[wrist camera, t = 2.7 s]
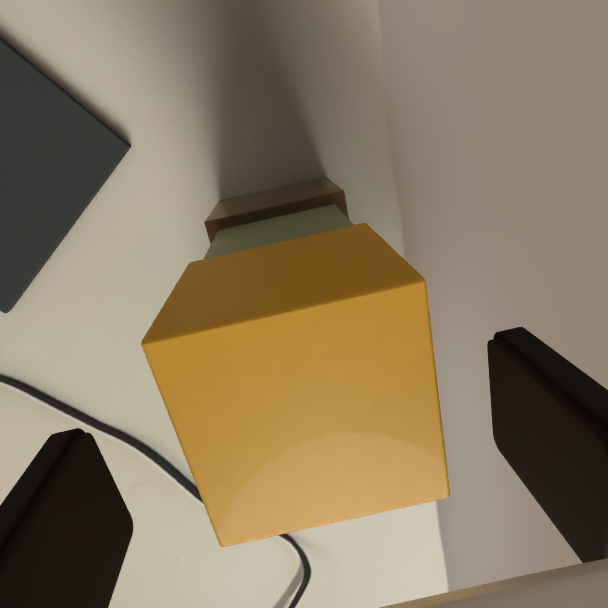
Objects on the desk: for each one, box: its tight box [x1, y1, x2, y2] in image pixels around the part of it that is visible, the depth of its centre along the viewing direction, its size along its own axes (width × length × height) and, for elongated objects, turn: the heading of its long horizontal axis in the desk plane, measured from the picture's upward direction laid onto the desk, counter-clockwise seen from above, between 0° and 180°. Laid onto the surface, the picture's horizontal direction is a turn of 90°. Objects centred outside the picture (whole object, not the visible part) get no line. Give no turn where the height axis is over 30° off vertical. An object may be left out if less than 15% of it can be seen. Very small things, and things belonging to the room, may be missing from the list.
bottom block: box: [204, 177, 349, 244], centre depth 24 cm, size 6×6×6 cm
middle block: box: [204, 204, 353, 259], centre depth 18 cm, size 6×6×6 cm
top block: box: [141, 223, 450, 547], centre depth 13 cm, size 6×6×6 cm
